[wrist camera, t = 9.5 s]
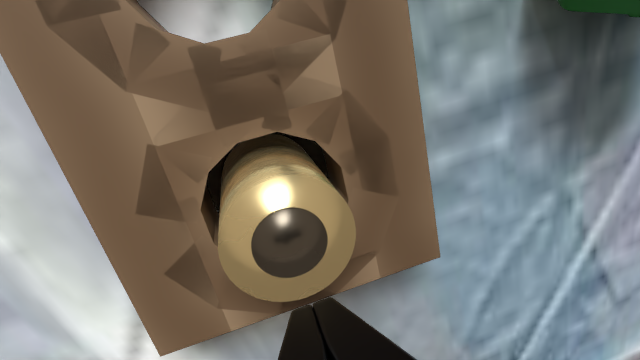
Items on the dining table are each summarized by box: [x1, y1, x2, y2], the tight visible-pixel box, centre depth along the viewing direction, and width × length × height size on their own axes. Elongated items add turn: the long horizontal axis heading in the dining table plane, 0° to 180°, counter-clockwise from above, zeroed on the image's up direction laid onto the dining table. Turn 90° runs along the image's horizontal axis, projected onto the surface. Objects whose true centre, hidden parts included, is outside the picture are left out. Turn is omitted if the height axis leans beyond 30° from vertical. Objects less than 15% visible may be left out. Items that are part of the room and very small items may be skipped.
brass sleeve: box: [218, 134, 356, 302], centre depth 13 cm, size 4×4×6 cm
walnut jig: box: [0, 0, 440, 356], centre depth 13 cm, size 12×18×3 cm
